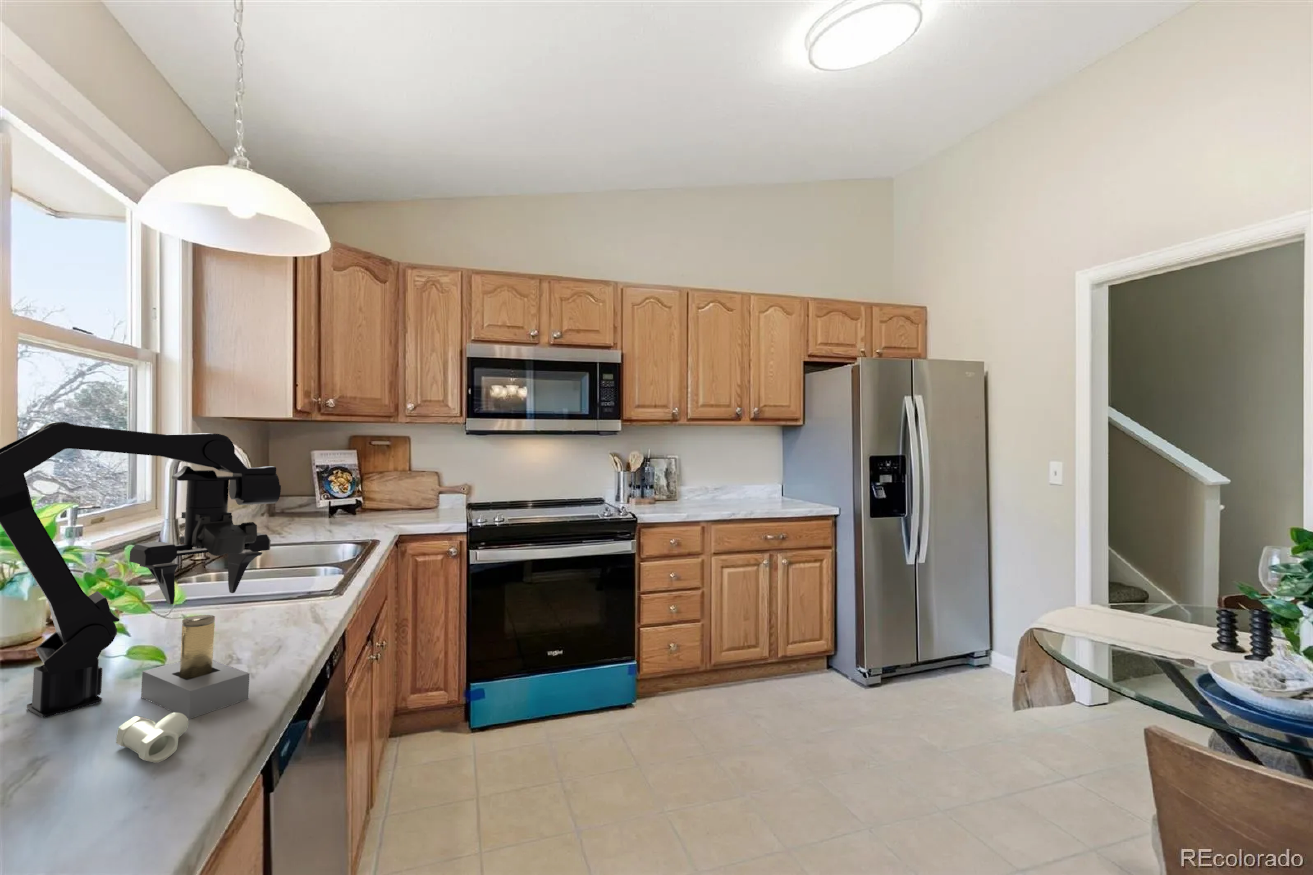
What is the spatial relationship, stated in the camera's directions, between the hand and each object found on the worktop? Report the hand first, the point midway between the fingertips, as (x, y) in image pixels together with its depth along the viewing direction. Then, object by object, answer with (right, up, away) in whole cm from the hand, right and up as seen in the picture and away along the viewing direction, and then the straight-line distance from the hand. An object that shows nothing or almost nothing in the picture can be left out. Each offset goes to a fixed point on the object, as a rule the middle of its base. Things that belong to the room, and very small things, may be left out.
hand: (202, 598), depth 101 cm
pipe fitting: (+13, -14, -23) cm, 30 cm away
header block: (+6, -13, -9) cm, 17 cm away
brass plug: (+6, -10, -9) cm, 14 cm away
